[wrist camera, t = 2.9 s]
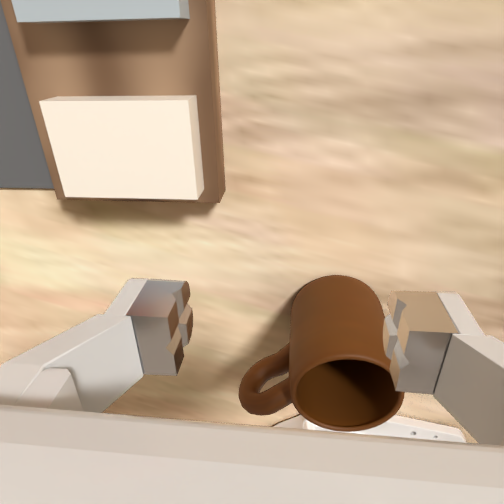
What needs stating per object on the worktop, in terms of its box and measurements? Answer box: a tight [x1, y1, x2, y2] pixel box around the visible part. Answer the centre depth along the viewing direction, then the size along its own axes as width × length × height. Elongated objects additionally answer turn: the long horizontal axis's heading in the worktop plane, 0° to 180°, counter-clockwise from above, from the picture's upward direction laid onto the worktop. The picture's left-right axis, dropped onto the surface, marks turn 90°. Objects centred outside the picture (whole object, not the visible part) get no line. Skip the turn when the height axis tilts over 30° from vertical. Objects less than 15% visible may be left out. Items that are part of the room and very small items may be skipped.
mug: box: [239, 275, 404, 432], centre depth 30 cm, size 12×8×9 cm, turn 115°
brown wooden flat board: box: [0, 0, 225, 203], centre depth 24 cm, size 12×18×2 cm, turn 1°
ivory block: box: [39, 95, 204, 200], centre depth 25 cm, size 9×6×2 cm, turn 91°
